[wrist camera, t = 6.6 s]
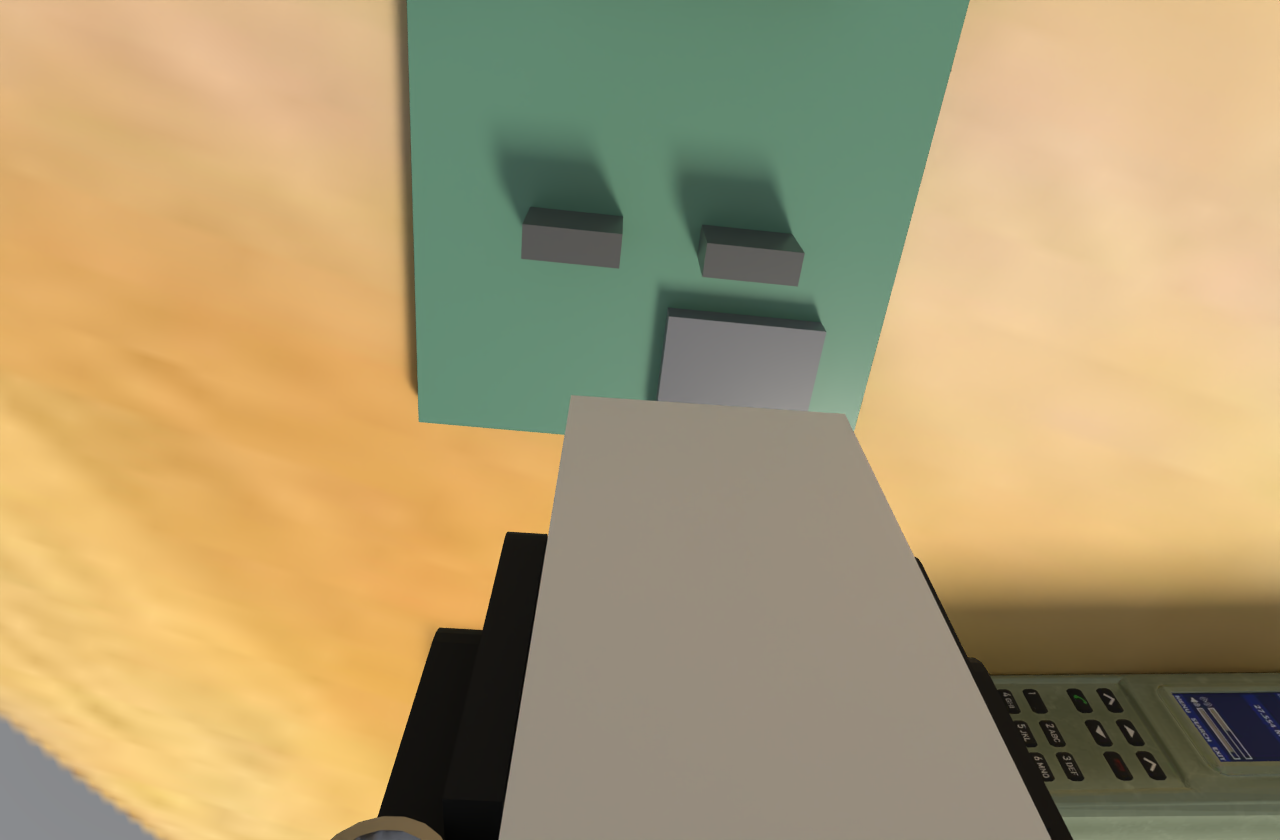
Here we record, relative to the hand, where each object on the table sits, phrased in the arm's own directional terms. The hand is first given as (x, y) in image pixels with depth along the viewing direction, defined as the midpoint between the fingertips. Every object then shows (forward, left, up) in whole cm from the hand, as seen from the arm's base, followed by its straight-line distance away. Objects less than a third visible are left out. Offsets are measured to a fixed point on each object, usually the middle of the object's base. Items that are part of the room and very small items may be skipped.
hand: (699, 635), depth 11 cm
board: (0, -3, -17) cm, 17 cm away
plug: (0, 0, -2) cm, 2 cm away
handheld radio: (-25, +17, -17) cm, 35 cm away
